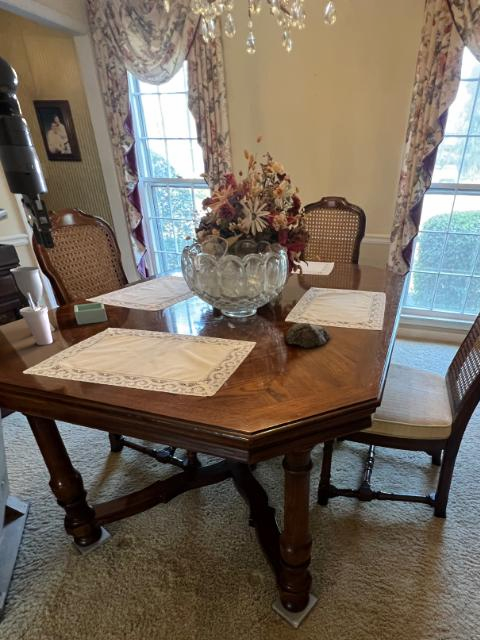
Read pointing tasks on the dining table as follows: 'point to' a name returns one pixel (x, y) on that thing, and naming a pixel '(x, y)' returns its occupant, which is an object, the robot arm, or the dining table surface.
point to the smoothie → (37, 322)
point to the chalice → (29, 284)
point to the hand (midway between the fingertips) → (45, 246)
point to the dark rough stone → (307, 335)
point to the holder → (90, 313)
